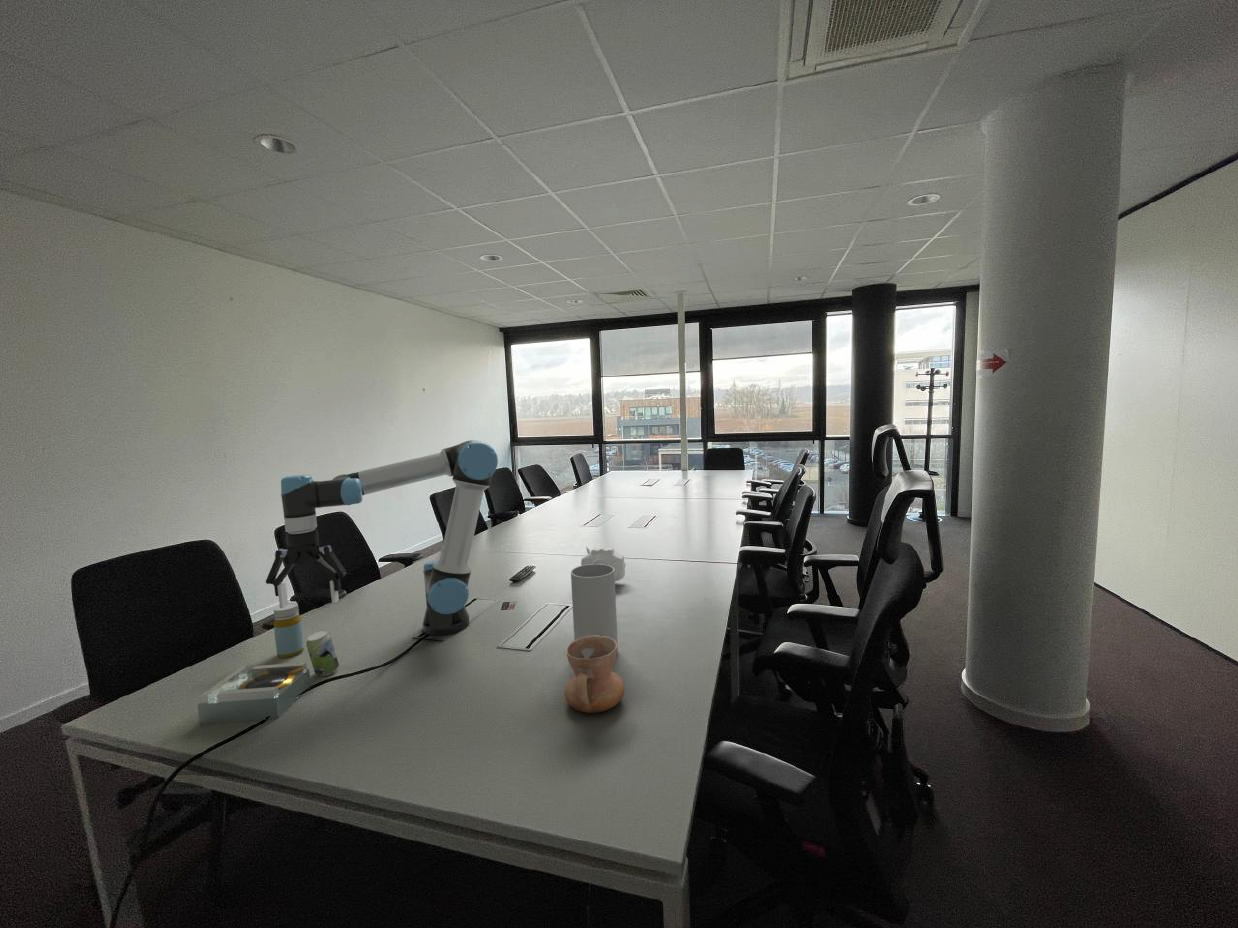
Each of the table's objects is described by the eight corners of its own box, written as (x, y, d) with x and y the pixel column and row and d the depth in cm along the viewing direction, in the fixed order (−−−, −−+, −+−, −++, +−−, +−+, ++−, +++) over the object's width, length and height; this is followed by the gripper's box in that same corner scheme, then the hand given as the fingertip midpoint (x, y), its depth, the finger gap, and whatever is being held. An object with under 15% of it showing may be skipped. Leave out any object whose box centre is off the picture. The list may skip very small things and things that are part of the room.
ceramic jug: (580, 679, 130) (576, 628, 128) (633, 685, 125) (630, 632, 124) (551, 722, 113) (546, 663, 111) (611, 730, 108) (607, 669, 107)
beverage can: (344, 668, 142) (340, 628, 141) (321, 681, 135) (317, 639, 134) (328, 665, 144) (323, 626, 143) (304, 678, 137) (300, 637, 136)
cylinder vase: (625, 647, 147) (621, 566, 144) (606, 667, 135) (602, 579, 133) (588, 641, 152) (584, 562, 150) (567, 660, 141) (562, 575, 138)
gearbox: (311, 686, 132) (308, 661, 132) (278, 718, 118) (275, 690, 118) (241, 691, 131) (238, 666, 131) (200, 724, 117) (196, 696, 117)
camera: (586, 580, 211) (584, 543, 209) (627, 580, 207) (625, 543, 206) (579, 589, 200) (577, 550, 198) (623, 589, 197) (621, 550, 195)
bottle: (290, 659, 149) (285, 611, 148) (271, 658, 151) (266, 610, 149) (309, 648, 156) (304, 602, 155) (291, 647, 157) (286, 602, 156)
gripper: (354, 524, 143) (361, 595, 145) (261, 531, 140) (269, 603, 142) (343, 530, 136) (351, 604, 137) (245, 537, 132) (254, 613, 134)
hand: (309, 604), depth 140 cm, fingers open, 13 cm apart
